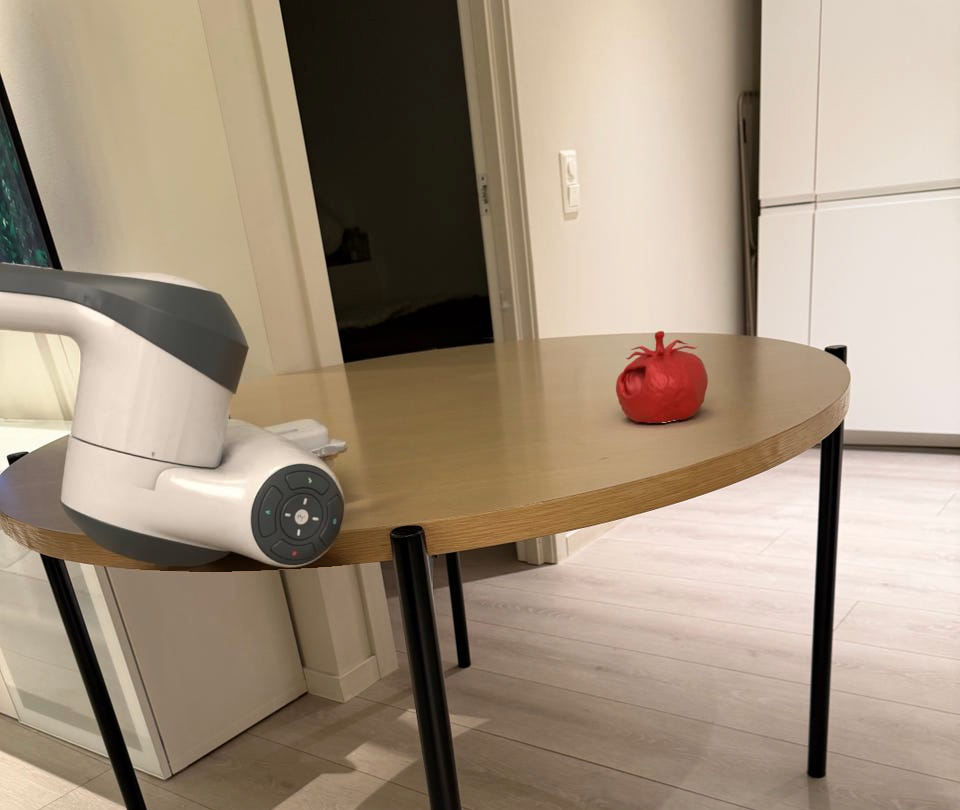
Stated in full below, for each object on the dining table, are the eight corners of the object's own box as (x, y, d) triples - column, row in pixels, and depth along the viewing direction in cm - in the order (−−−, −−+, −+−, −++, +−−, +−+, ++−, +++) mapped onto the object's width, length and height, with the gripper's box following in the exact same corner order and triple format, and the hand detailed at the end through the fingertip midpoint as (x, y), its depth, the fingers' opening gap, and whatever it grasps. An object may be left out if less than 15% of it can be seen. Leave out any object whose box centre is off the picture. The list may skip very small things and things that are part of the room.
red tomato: (704, 404, 102) (703, 319, 98) (712, 423, 94) (711, 331, 90) (618, 412, 104) (613, 329, 100) (617, 431, 95) (612, 341, 91)
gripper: (348, 411, 75) (295, 395, 86) (96, 466, 67) (74, 441, 78) (361, 484, 77) (308, 459, 89) (121, 546, 69) (96, 510, 80)
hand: (197, 451), depth 83 cm, fingers closed
